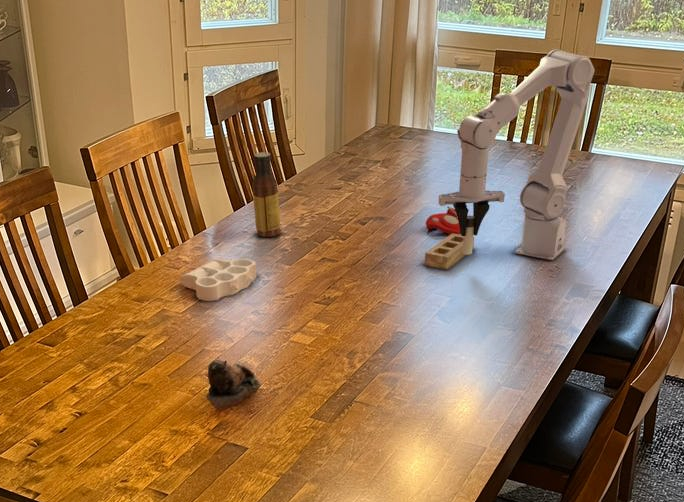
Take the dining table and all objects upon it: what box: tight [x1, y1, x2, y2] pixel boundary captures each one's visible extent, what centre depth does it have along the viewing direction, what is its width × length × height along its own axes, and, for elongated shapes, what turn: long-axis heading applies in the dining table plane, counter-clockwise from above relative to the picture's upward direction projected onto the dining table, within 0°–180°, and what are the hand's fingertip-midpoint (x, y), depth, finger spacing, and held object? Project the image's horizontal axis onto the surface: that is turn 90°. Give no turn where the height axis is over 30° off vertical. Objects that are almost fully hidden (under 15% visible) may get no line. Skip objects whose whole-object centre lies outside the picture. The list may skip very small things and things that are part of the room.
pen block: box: [424, 233, 475, 271], centre depth 237 cm, size 6×15×3 cm, turn 147°
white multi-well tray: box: [179, 258, 257, 302], centre depth 226 cm, size 3×18×15 cm
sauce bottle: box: [252, 151, 282, 238], centre depth 247 cm, size 7×6×20 cm
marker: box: [462, 215, 475, 256], centre depth 227 cm, size 2×2×8 cm
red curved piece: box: [425, 205, 461, 235], centre depth 252 cm, size 12×4×10 cm
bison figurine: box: [205, 359, 262, 410], centre depth 180 cm, size 12×7×10 cm, turn 150°
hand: (468, 234), depth 227 cm, fingers closed on marker, 2 cm apart
